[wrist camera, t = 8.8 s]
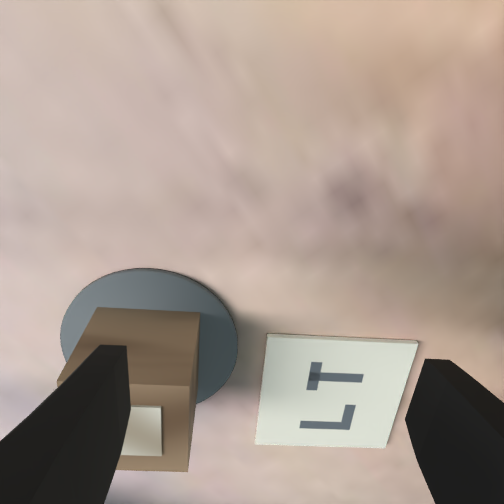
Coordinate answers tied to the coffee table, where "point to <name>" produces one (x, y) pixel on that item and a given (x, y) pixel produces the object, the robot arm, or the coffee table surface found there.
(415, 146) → the coffee table surface
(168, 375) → the walnut block
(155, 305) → the slate coaster
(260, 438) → the tile
